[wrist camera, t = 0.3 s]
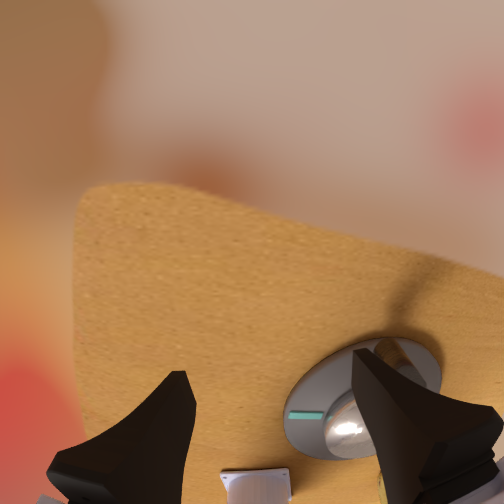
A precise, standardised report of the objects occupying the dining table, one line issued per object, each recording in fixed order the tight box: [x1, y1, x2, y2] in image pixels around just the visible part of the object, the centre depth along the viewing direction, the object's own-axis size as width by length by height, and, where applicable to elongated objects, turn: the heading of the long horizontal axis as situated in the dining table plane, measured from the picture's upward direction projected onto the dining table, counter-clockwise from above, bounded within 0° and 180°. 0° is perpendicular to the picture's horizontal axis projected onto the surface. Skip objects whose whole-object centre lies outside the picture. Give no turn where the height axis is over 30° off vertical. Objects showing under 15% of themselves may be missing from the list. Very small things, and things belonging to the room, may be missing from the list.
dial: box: [323, 338, 427, 459], centre depth 19 cm, size 14×9×6 cm, turn 8°
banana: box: [377, 473, 388, 504], centre depth 28 cm, size 10×2×4 cm, turn 18°
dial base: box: [283, 337, 442, 460], centre depth 24 cm, size 16×16×1 cm
